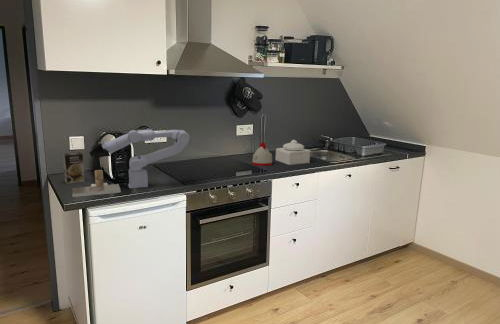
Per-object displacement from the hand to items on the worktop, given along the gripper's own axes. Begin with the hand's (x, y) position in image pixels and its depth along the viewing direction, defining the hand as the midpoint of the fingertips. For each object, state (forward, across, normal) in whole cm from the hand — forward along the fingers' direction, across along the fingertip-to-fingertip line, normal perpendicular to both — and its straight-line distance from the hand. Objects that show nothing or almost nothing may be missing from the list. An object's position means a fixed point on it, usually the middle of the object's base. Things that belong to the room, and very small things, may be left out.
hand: (92, 155), depth 196 cm
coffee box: (+18, -20, +5) cm, 27 cm away
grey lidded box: (-110, -62, +50) cm, 136 cm away
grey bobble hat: (-88, -57, +41) cm, 113 cm away
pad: (+5, -11, +14) cm, 19 cm away
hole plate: (+6, 0, +18) cm, 19 cm away
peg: (+5, -11, +14) cm, 18 cm away
